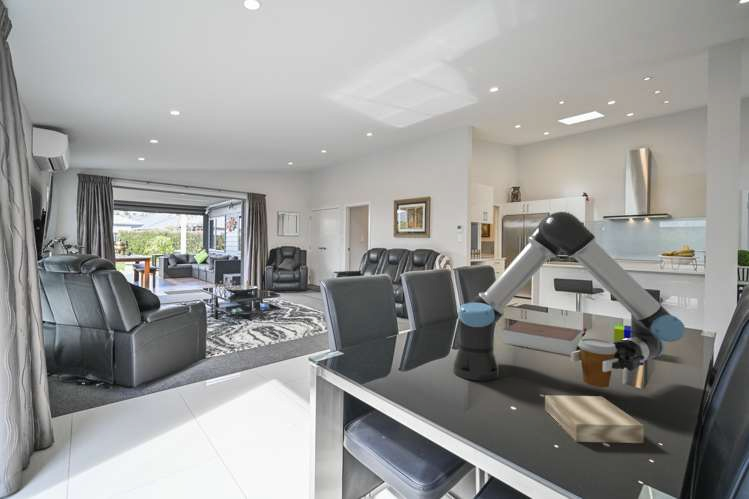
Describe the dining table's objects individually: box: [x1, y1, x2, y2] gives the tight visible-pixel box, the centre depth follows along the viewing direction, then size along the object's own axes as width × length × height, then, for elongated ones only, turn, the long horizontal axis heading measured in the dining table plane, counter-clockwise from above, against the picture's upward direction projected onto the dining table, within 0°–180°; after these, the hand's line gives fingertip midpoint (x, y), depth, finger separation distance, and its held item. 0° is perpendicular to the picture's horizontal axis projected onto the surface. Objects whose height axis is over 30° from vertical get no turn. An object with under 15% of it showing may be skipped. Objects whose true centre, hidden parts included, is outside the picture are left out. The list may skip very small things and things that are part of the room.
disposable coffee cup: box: [578, 337, 617, 388], centre depth 101 cm, size 10×10×12 cm
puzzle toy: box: [613, 324, 631, 343], centre depth 147 cm, size 10×10×10 cm
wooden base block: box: [544, 394, 645, 444], centre depth 86 cm, size 15×15×4 cm
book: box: [502, 320, 583, 357], centre depth 158 cm, size 24×28×6 cm
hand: (587, 361), depth 99 cm, fingers closed on disposable coffee cup, 8 cm apart
